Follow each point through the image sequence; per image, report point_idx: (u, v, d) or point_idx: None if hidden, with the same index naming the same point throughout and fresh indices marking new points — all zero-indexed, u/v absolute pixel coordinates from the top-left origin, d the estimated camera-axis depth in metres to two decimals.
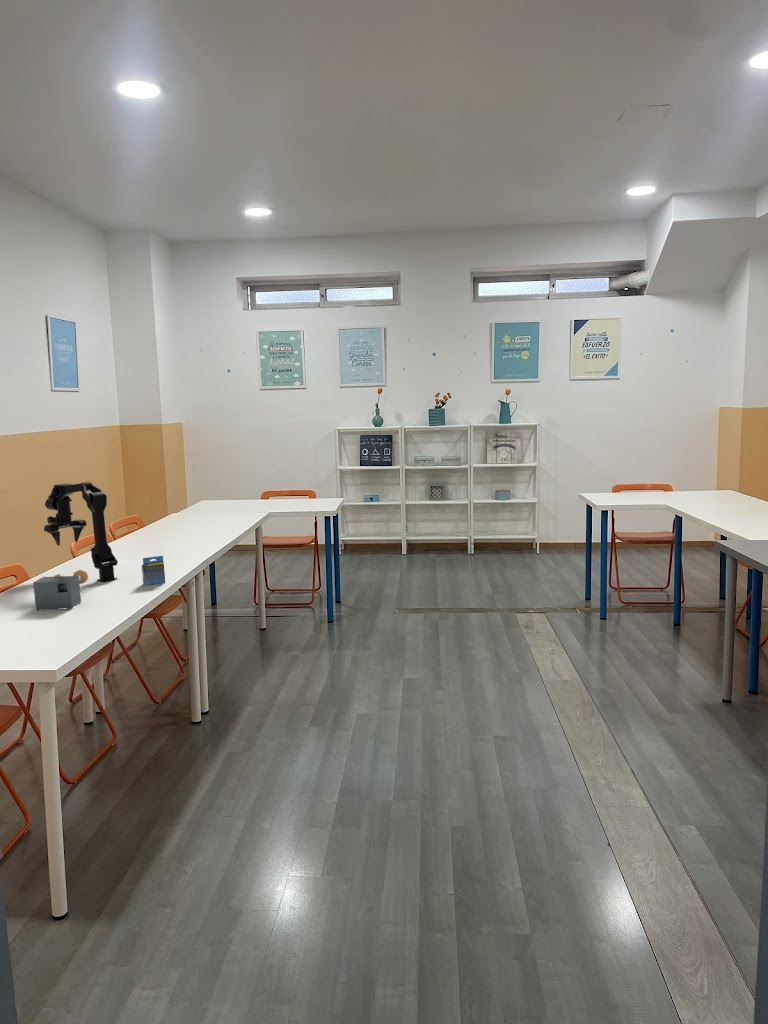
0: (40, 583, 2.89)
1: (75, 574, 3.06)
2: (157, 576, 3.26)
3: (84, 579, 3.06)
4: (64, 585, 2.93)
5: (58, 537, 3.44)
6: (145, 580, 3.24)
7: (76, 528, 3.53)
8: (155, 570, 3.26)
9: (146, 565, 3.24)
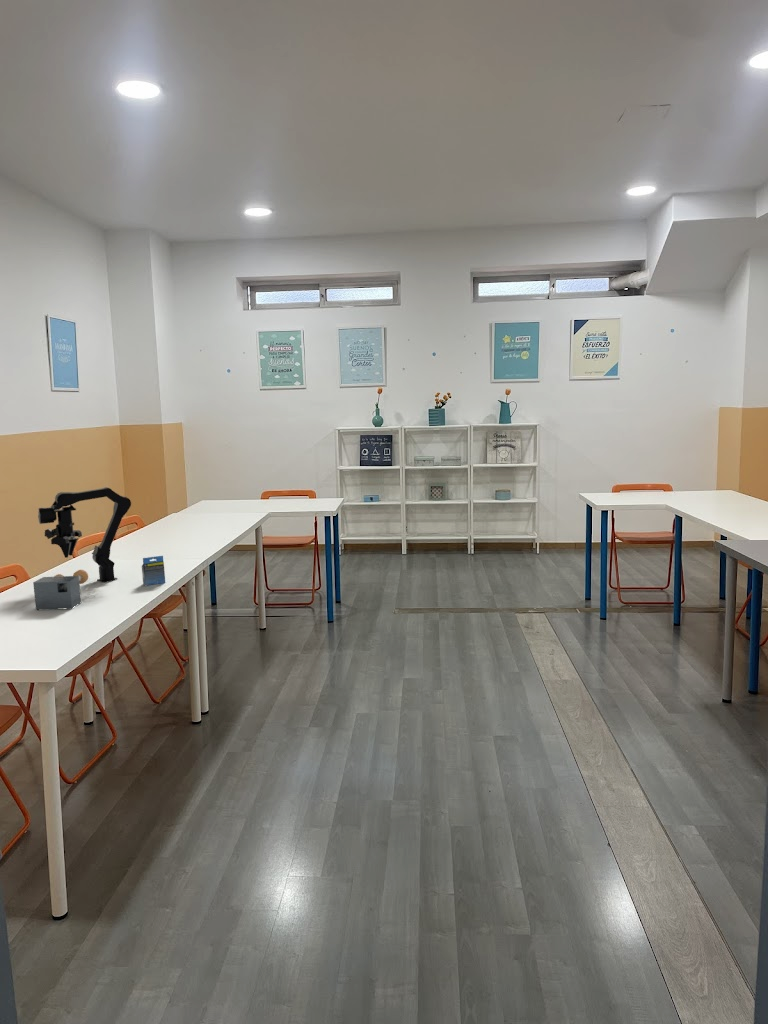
0: (40, 583, 2.89)
1: (75, 574, 3.06)
2: (157, 576, 3.26)
3: (84, 579, 3.06)
4: (64, 585, 2.93)
5: (69, 548, 3.23)
6: (145, 580, 3.24)
7: (70, 540, 3.29)
8: (155, 570, 3.26)
9: (146, 565, 3.24)
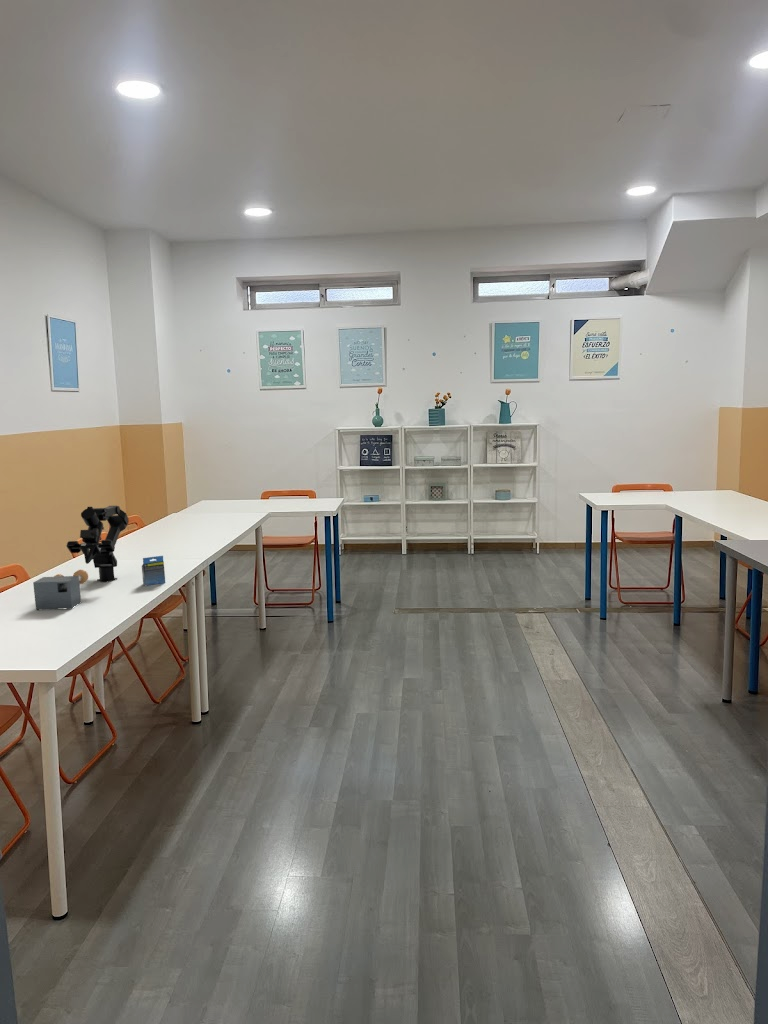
0: (40, 583, 2.89)
1: (75, 574, 3.06)
2: (157, 576, 3.26)
3: (84, 579, 3.06)
4: (64, 585, 2.93)
5: None
6: (145, 580, 3.24)
7: (88, 551, 3.19)
8: (155, 570, 3.26)
9: (146, 565, 3.24)
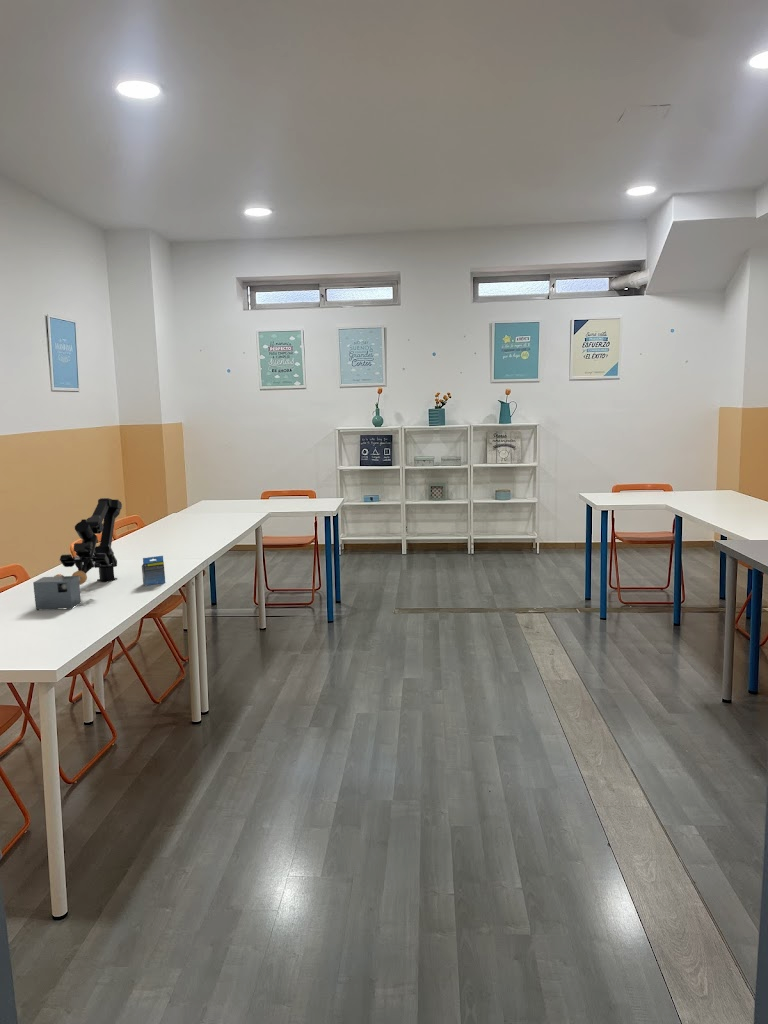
0: (40, 583, 2.89)
1: (74, 575, 3.05)
2: (157, 577, 3.26)
3: (83, 580, 3.05)
4: (63, 586, 2.91)
5: None
6: (145, 580, 3.24)
7: (82, 564, 3.11)
8: (155, 570, 3.26)
9: (146, 565, 3.24)
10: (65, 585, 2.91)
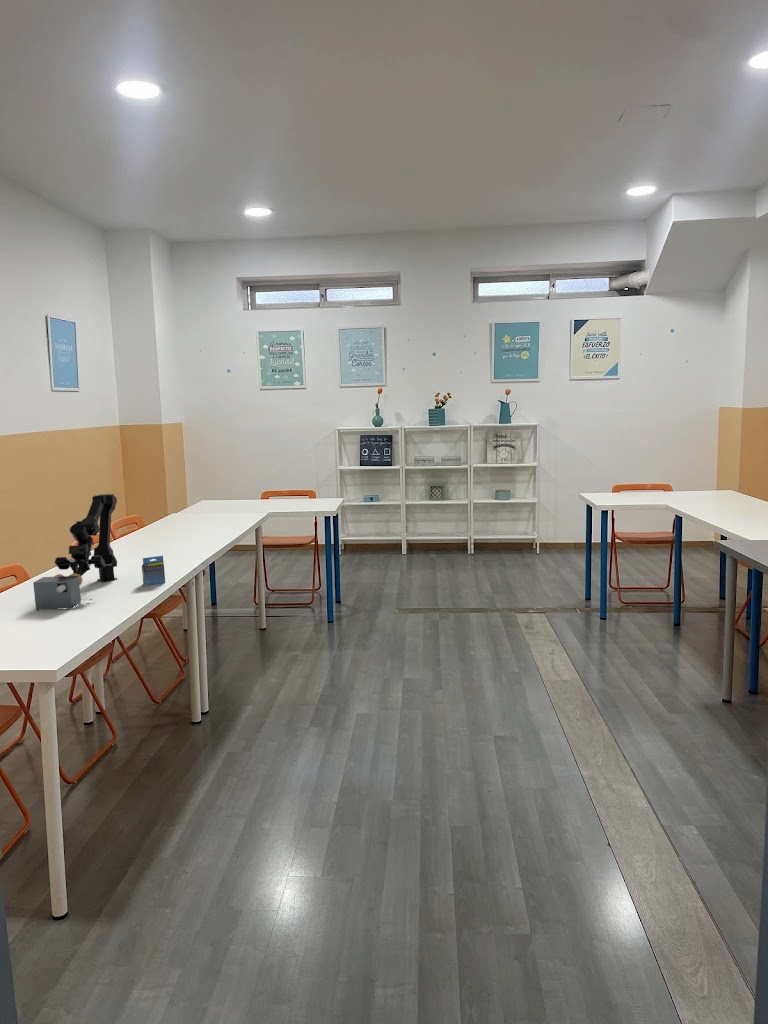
0: (40, 583, 2.89)
1: None
2: (157, 576, 3.26)
3: None
4: (57, 589, 2.86)
5: None
6: (145, 580, 3.24)
7: (77, 567, 3.06)
8: (155, 570, 3.26)
9: (146, 565, 3.24)
10: (60, 588, 2.86)
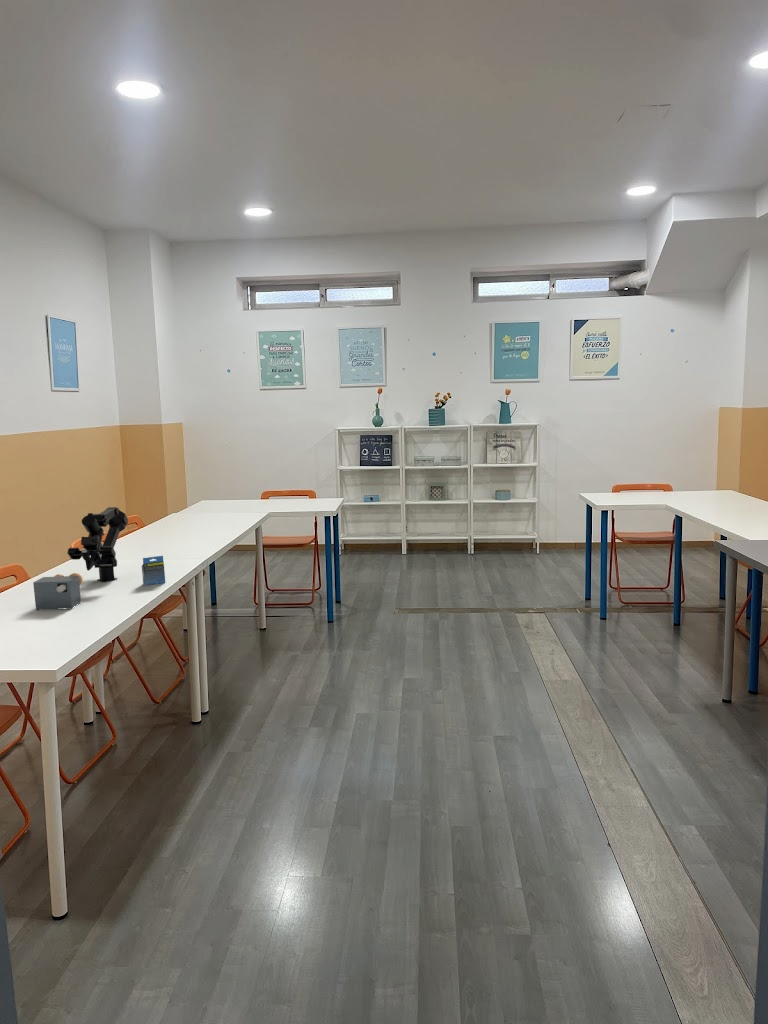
0: (40, 583, 2.89)
1: None
2: (157, 576, 3.26)
3: (79, 583, 3.01)
4: (58, 589, 2.87)
5: None
6: (145, 580, 3.24)
7: (89, 557, 3.19)
8: (155, 570, 3.26)
9: (146, 565, 3.24)
10: (60, 588, 2.87)
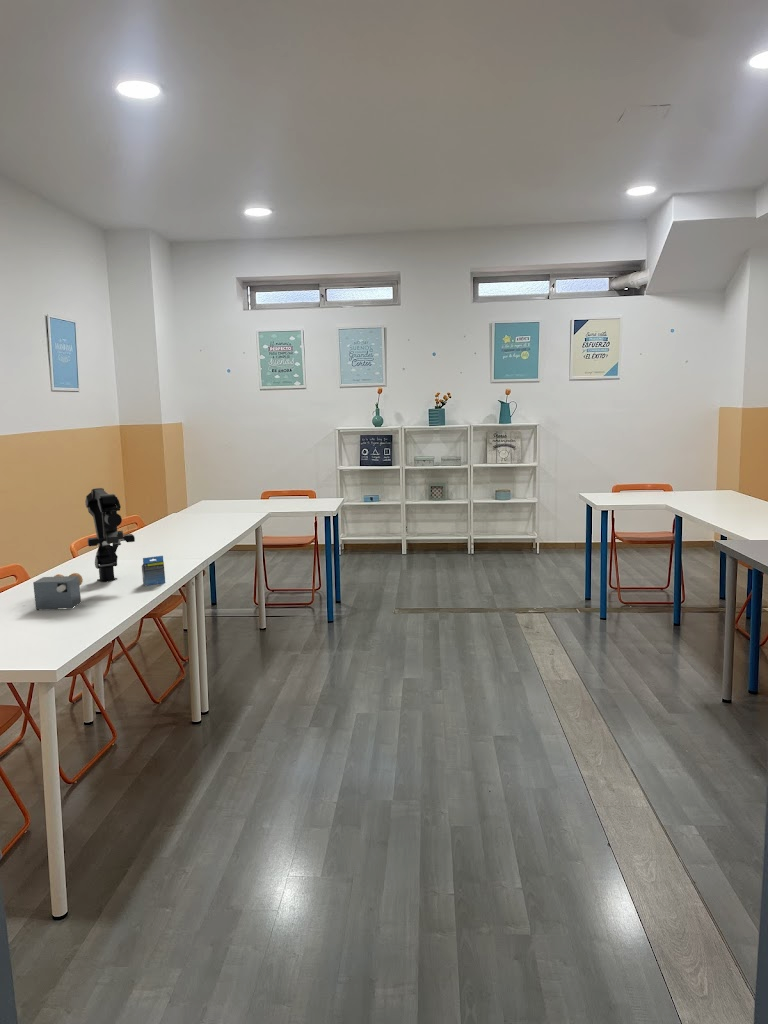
0: (40, 583, 2.89)
1: None
2: (157, 576, 3.26)
3: (79, 583, 3.01)
4: (58, 589, 2.87)
5: None
6: (145, 580, 3.24)
7: None
8: (155, 570, 3.26)
9: (146, 565, 3.24)
10: (60, 588, 2.87)
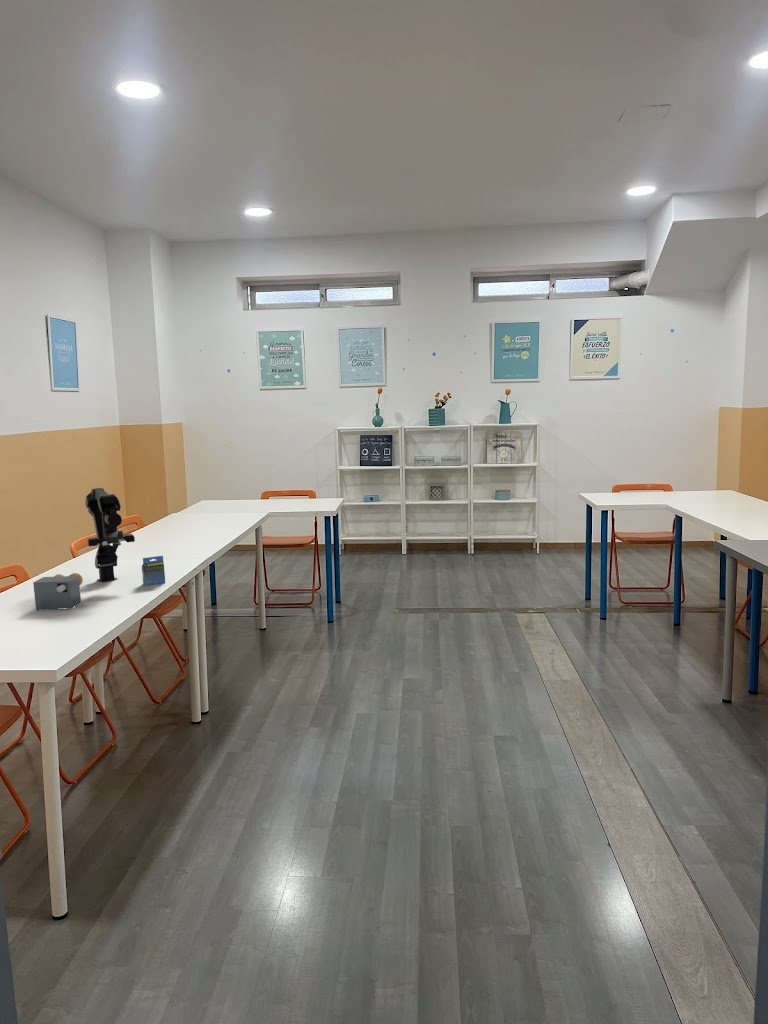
0: (40, 583, 2.89)
1: None
2: (157, 577, 3.26)
3: (79, 583, 3.01)
4: (58, 589, 2.87)
5: None
6: (145, 580, 3.24)
7: None
8: (155, 570, 3.26)
9: (146, 565, 3.24)
10: (60, 588, 2.87)
